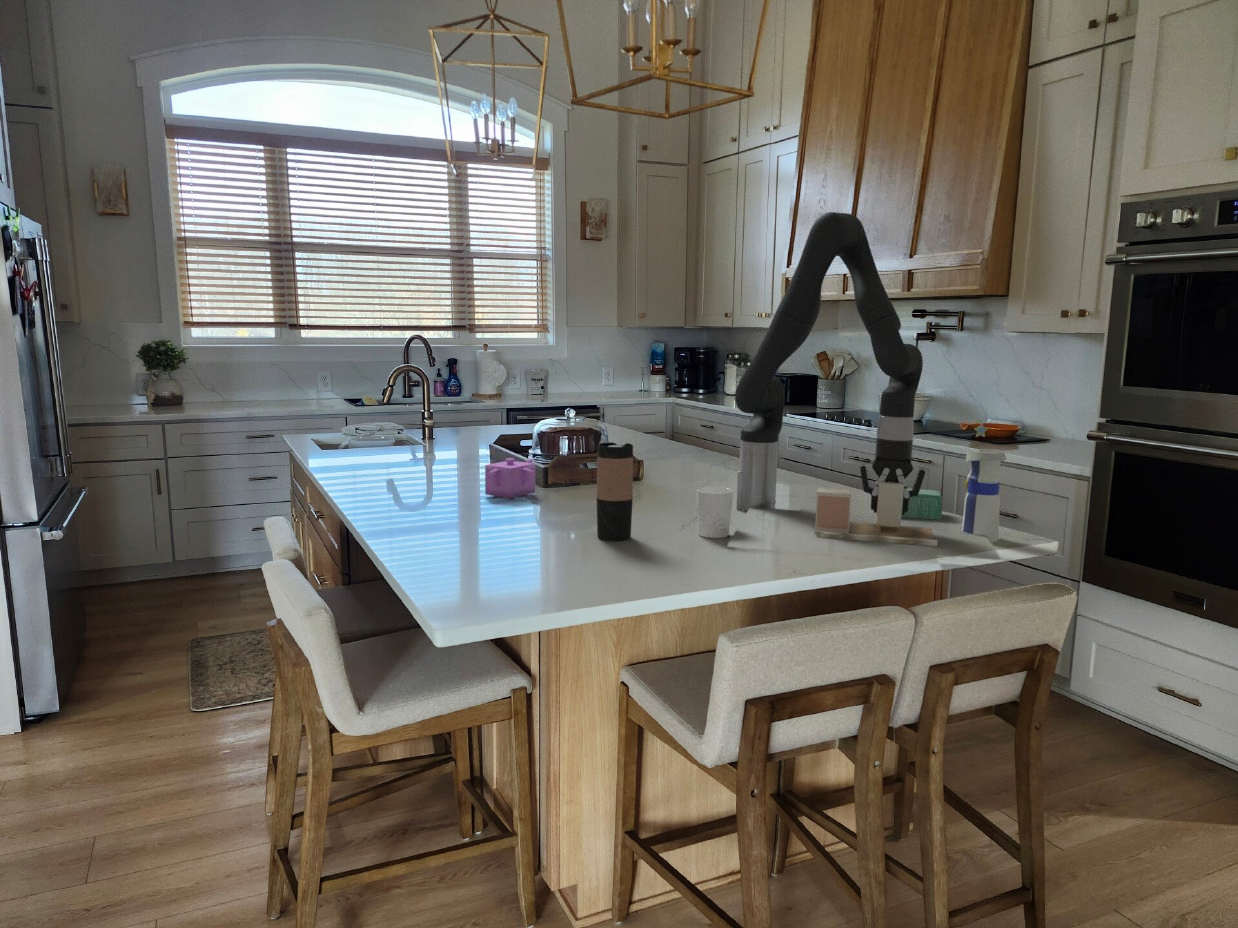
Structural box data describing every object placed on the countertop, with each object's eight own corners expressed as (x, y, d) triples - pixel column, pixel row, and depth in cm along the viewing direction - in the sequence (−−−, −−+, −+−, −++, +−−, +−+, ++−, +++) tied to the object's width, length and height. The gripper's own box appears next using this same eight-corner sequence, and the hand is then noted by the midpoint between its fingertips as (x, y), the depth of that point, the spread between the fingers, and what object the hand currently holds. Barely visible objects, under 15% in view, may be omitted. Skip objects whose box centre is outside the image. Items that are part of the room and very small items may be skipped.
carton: (901, 526, 187) (904, 485, 186) (876, 524, 188) (879, 483, 187) (899, 519, 194) (902, 479, 192) (875, 517, 195) (878, 477, 194)
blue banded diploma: (949, 535, 192) (957, 423, 188) (978, 532, 196) (987, 422, 192) (977, 543, 185) (987, 427, 181) (1007, 540, 188) (1017, 426, 184)
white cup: (734, 532, 192) (736, 488, 190) (727, 540, 184) (728, 494, 183) (700, 529, 194) (701, 485, 193) (691, 537, 187) (692, 491, 185)
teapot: (515, 488, 240) (514, 452, 238) (555, 494, 232) (555, 456, 231) (470, 498, 225) (470, 460, 223) (512, 505, 217) (512, 465, 216)
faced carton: (814, 533, 186) (817, 491, 184) (815, 527, 191) (818, 487, 189) (848, 535, 184) (851, 494, 183) (848, 530, 189) (851, 489, 187)
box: (941, 526, 202) (943, 494, 201) (880, 522, 205) (882, 491, 204) (937, 519, 209) (939, 489, 208) (879, 516, 212) (880, 486, 211)
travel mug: (606, 542, 181) (607, 447, 177) (590, 534, 187) (591, 443, 184) (638, 539, 184) (640, 446, 181) (621, 531, 191) (623, 441, 188)
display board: (816, 543, 183) (816, 532, 182) (819, 526, 199) (819, 515, 199) (936, 553, 177) (937, 541, 176) (929, 534, 193) (930, 523, 192)
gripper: (860, 436, 186) (855, 514, 189) (931, 440, 183) (924, 519, 185) (860, 432, 193) (855, 507, 196) (928, 436, 190) (921, 512, 193)
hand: (888, 512), depth 191 cm, fingers closed on carton, 5 cm apart
